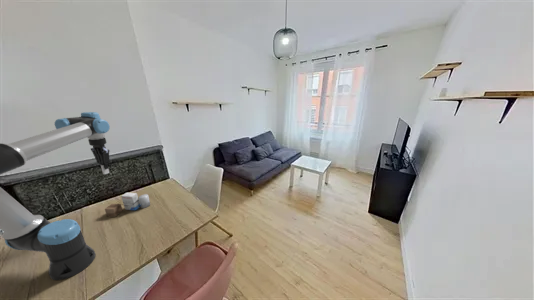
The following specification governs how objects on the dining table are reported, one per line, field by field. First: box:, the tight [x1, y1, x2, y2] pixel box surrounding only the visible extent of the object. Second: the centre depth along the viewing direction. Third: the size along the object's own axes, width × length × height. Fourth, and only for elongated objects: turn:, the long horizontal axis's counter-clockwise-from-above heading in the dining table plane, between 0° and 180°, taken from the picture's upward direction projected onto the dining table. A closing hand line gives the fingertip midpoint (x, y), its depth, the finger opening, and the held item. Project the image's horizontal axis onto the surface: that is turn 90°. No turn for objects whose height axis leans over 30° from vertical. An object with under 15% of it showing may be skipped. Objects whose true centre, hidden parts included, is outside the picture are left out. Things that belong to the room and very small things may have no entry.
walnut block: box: [104, 203, 123, 218], centre depth 118 cm, size 6×6×6 cm
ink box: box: [120, 192, 141, 211], centre depth 123 cm, size 9×5×12 cm, turn 84°
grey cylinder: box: [138, 193, 151, 209], centre depth 127 cm, size 6×6×8 cm
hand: (106, 173), depth 110 cm, fingers closed
